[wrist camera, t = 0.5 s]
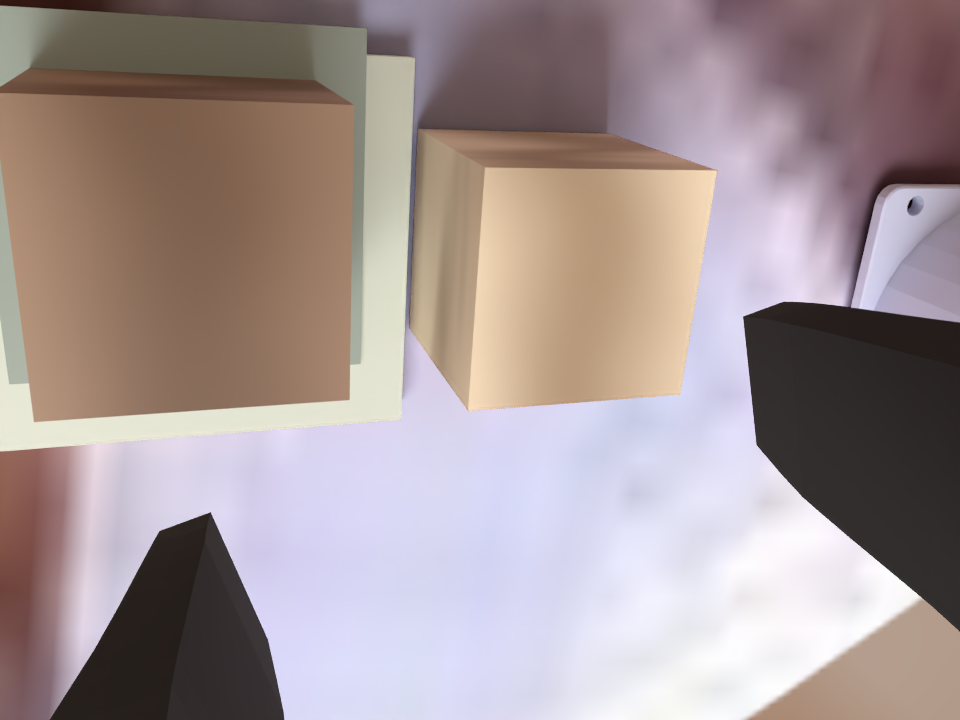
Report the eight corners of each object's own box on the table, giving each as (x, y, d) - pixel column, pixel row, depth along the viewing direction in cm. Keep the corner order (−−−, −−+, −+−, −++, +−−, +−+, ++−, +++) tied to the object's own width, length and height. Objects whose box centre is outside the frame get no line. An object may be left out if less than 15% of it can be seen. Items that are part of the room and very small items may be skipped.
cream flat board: (410, 30, 18) (417, 31, 18) (397, 412, 21) (402, 421, 21) (-246, -11, 15) (-259, -11, 14) (-147, 454, 18) (-154, 465, 17)
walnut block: (315, 79, 17) (354, 104, 14) (315, 323, 19) (349, 400, 16) (28, 67, 16) (-9, 92, 12) (59, 334, 18) (33, 422, 14)
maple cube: (609, 133, 20) (717, 170, 16) (587, 320, 22) (680, 394, 18) (417, 128, 19) (484, 167, 15) (409, 328, 21) (468, 411, 17)
